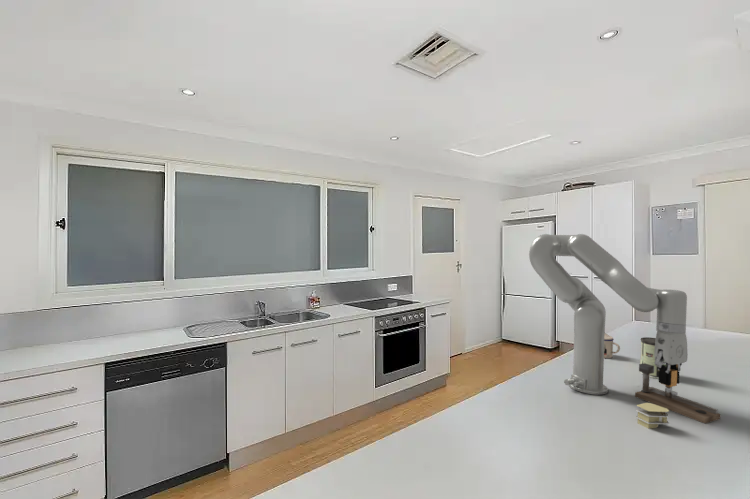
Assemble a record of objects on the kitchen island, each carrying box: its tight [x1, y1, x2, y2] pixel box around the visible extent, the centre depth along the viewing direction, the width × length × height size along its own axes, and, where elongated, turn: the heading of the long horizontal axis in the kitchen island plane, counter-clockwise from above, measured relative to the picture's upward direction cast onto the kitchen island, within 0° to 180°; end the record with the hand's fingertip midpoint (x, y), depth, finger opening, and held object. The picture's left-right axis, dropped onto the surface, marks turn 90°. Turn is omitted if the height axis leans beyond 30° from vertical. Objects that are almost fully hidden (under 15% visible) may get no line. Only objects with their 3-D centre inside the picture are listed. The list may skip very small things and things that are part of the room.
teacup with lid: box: [604, 332, 621, 359], centre depth 173 cm, size 12×9×12 cm
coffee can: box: [639, 336, 666, 380], centre depth 149 cm, size 10×10×14 cm
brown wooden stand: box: [634, 363, 721, 424], centre depth 120 cm, size 8×20×11 cm, turn 23°
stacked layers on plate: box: [635, 402, 670, 429], centre depth 107 cm, size 10×9×6 cm
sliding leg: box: [660, 369, 679, 399], centre depth 122 cm, size 5×3×10 cm, turn 113°
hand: (668, 382), depth 121 cm, fingers open, 3 cm apart
